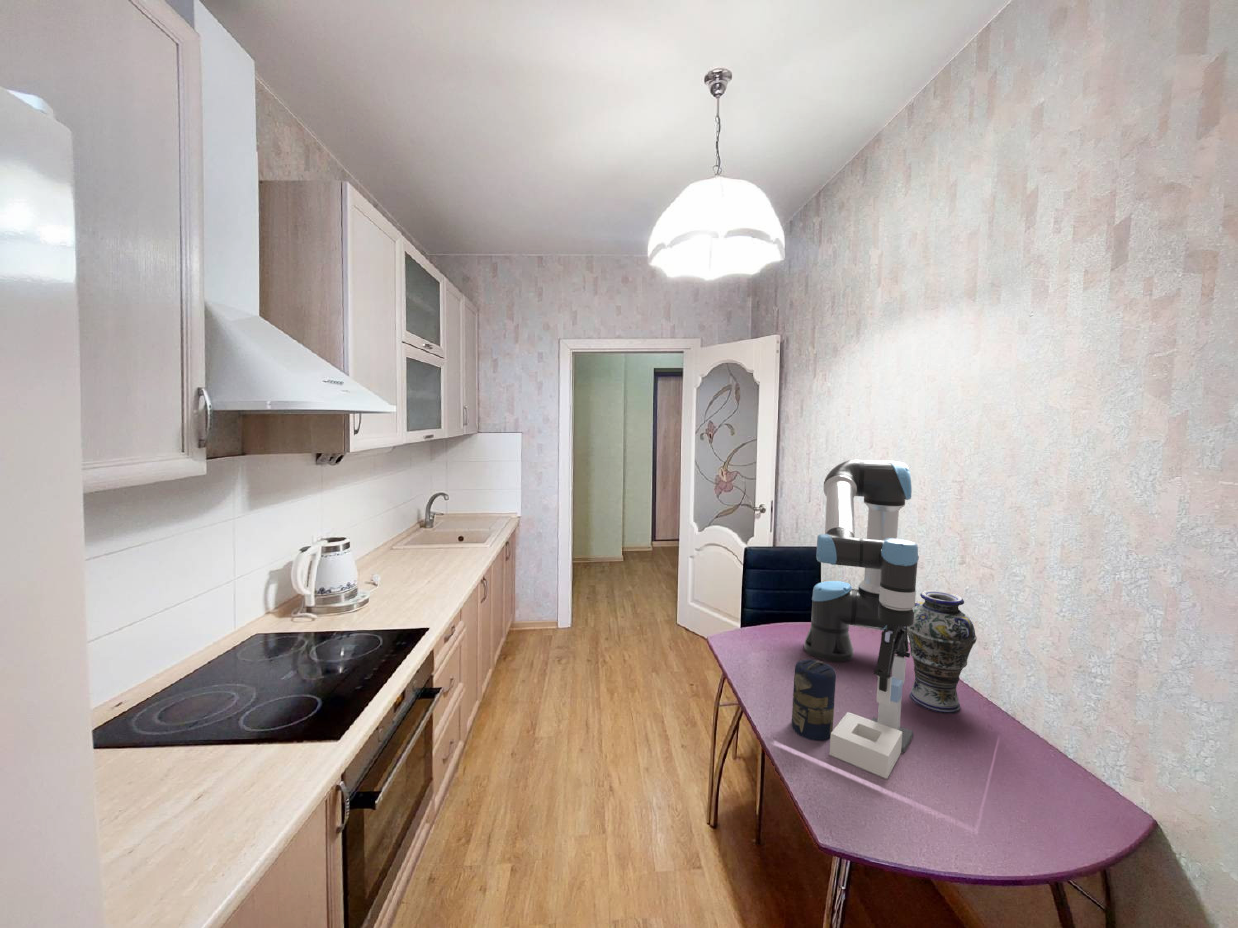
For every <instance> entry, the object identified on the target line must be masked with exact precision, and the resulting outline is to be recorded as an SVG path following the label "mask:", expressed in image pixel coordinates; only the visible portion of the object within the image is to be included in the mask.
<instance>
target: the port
mask: <svg viewBox="0 0 1238 928" xmlns="http://www.w3.org/2000/svg"><path fill="white" fill-rule="evenodd" d="M901 746H902V731H899V730H897V729H894V728H891V727H888V726H885V725H883V724H880V723H877V722H874V721H872V719H869V718H866V717H863V716H859V715H858V714H854V713H851V712H849V711H847V712H846V713H845V715H844V716H843V717H842V719H841V720H840V721H839V722H838V724H837V725H836V726H835V727H834V728H833V731H832V732H831V736H830V738H829V755H828V756H830V757H833V758H835V759H837V760H839V761H841V762H844V763H846V764H848V765H851V766H853V767H855V768H859V769H860V770H863V771H865V772H868V773H870V774H873V775H874V776H877V777H880V779H885V780H888V778H889V776H890V775H891V773H892V771H893V769H894V767H895V766H896V764H897V762H898V760H899V758H900V756H901V754H902V752H901Z"/></svg>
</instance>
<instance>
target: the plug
mask: <svg viewBox="0 0 1238 928" xmlns="http://www.w3.org/2000/svg"><path fill="white" fill-rule="evenodd" d="M891 677H892V676H891ZM902 696H903V681H902V680H899V679H896V678H893V677H892V680H891V696H890V705H889V706H888V705H885V704H882V703H879V702H878V711H877V718H878V722H877V723H880V724H883V725H885V726H888V727H891V728H894V729H897V730H899V729H900V727H901V726H900V725H901V710H902V698H903V697H902Z"/></svg>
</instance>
